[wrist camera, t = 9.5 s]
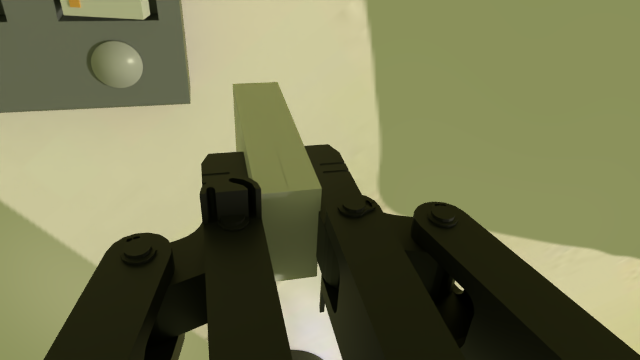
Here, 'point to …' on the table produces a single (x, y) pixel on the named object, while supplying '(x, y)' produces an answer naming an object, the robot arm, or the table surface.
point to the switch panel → (90, 58)
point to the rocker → (107, 8)
